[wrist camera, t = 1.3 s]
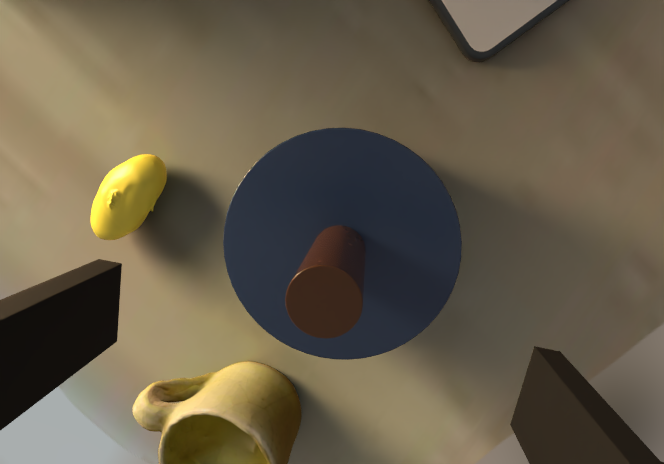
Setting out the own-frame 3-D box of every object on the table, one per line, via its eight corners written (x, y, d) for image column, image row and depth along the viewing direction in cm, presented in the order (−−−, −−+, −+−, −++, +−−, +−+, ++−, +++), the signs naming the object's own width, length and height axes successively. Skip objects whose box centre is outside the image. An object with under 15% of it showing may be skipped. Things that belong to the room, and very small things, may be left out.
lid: (244, 109, 23) (167, 89, 15) (483, 151, 23) (555, 156, 14) (218, 326, 26) (142, 417, 18) (428, 369, 26) (458, 487, 17)
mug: (346, 410, 33) (279, 519, 25) (282, 455, 39) (208, 557, 30) (246, 300, 35) (150, 368, 26) (197, 358, 40) (104, 430, 32)
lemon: (189, 177, 33) (166, 182, 29) (130, 246, 34) (100, 258, 30) (150, 140, 32) (121, 139, 28) (92, 210, 34) (57, 219, 30)
